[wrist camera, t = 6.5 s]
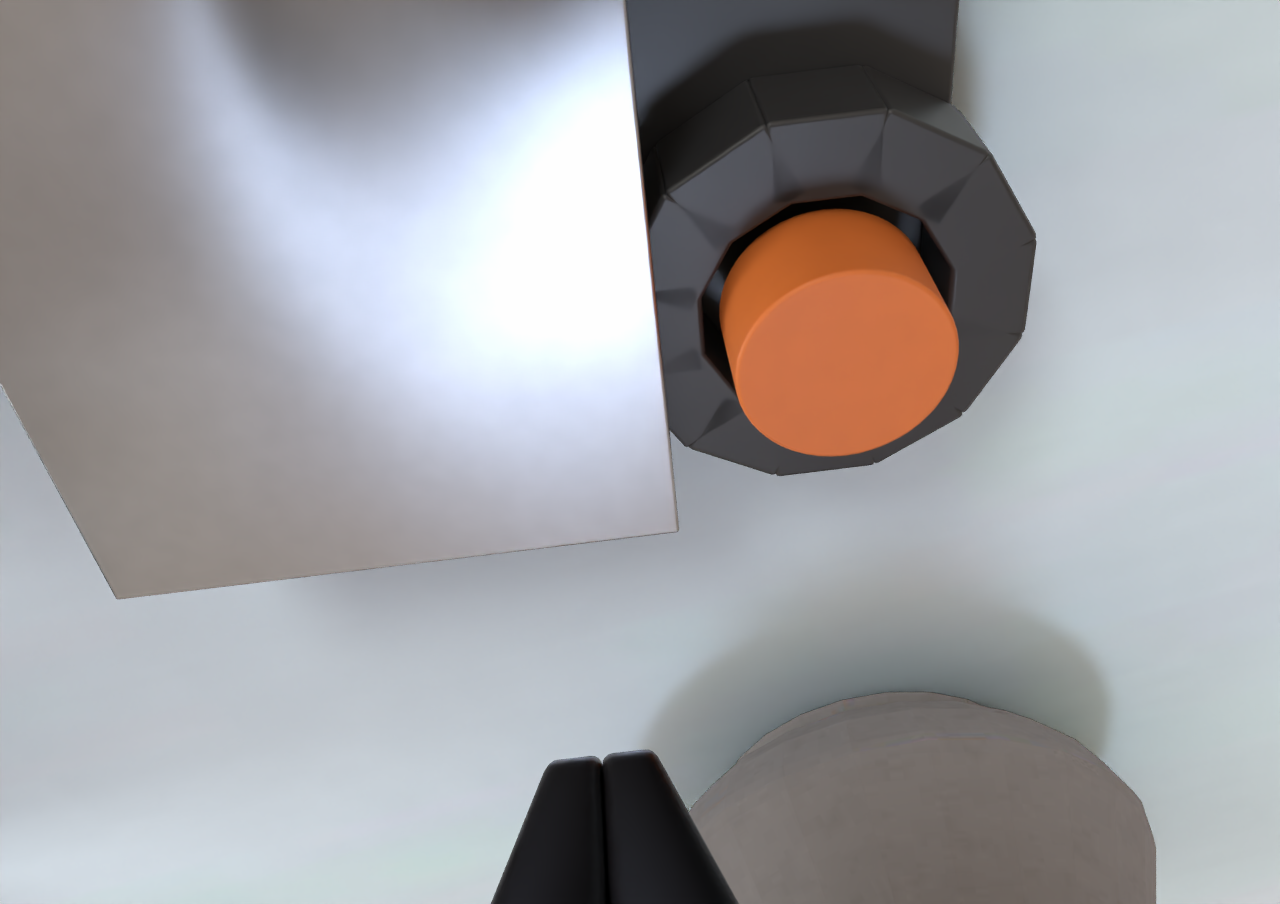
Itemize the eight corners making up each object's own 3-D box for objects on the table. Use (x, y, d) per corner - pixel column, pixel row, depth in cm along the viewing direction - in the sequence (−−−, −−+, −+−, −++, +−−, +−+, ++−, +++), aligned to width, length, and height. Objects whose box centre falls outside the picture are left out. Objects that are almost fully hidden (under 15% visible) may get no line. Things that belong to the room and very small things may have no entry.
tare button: (919, 373, 18) (951, 444, 16) (724, 397, 18) (740, 470, 16) (931, 194, 16) (969, 257, 14) (712, 220, 16) (729, 286, 14)
